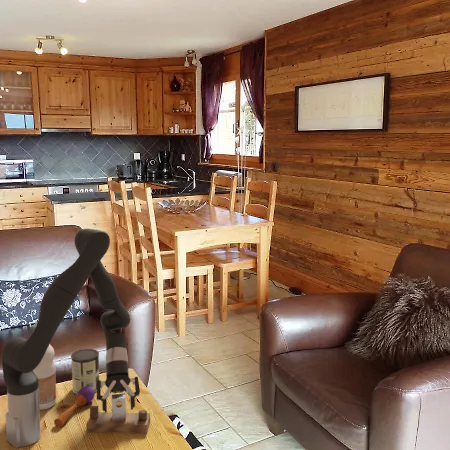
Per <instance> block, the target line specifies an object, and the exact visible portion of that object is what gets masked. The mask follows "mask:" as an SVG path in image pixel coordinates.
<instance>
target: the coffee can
mask: <svg viewBox="0 0 450 450" xmlns="http://www.w3.org/2000/svg"><path fill="white" fill-rule="evenodd" d="M70 359H71V378H72V379H71V382H72V392H73V393H74V394H76V395H78V392H79V390H80V389H81V388H82V387H86V386H89V387H91V388H92V389H93V390H94V393H95V392H96V393H97V381H98V380H100V360H99V359H100V352H99V351H98V350H97V349H93V348H83V349H82V348H81V349H78V350H75V351H74V352H72V353H71V354H70Z"/></svg>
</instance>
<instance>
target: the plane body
mask: <svg viewBox="0 0 450 450" xmlns="http://www.w3.org/2000/svg"><path fill="white" fill-rule="evenodd" d="M150 423H151V413H150V412H149V413H148V411H147V410H146V409H141V410H138V412H126V420H122V421H114V422H112V412H108V411H107V412H106V413H105V411H103V412H101V411H100V412H99V405H90V407H89V417H88V420H87V421H86V424H85V425H86V427H85V428H86V433H110V434H111V433H112V434H113V433H116V434H119V433H120V434H121V433H123V434H132V433H133V434H148V432H149V428H150Z"/></svg>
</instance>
